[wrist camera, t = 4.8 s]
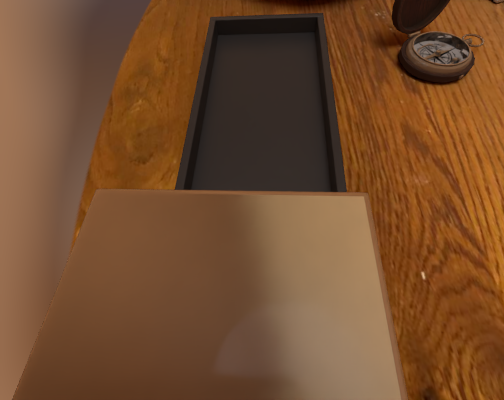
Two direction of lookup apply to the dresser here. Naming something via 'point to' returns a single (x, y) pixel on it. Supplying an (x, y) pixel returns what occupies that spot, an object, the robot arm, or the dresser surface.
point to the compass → (431, 43)
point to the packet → (219, 301)
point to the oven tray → (264, 109)
